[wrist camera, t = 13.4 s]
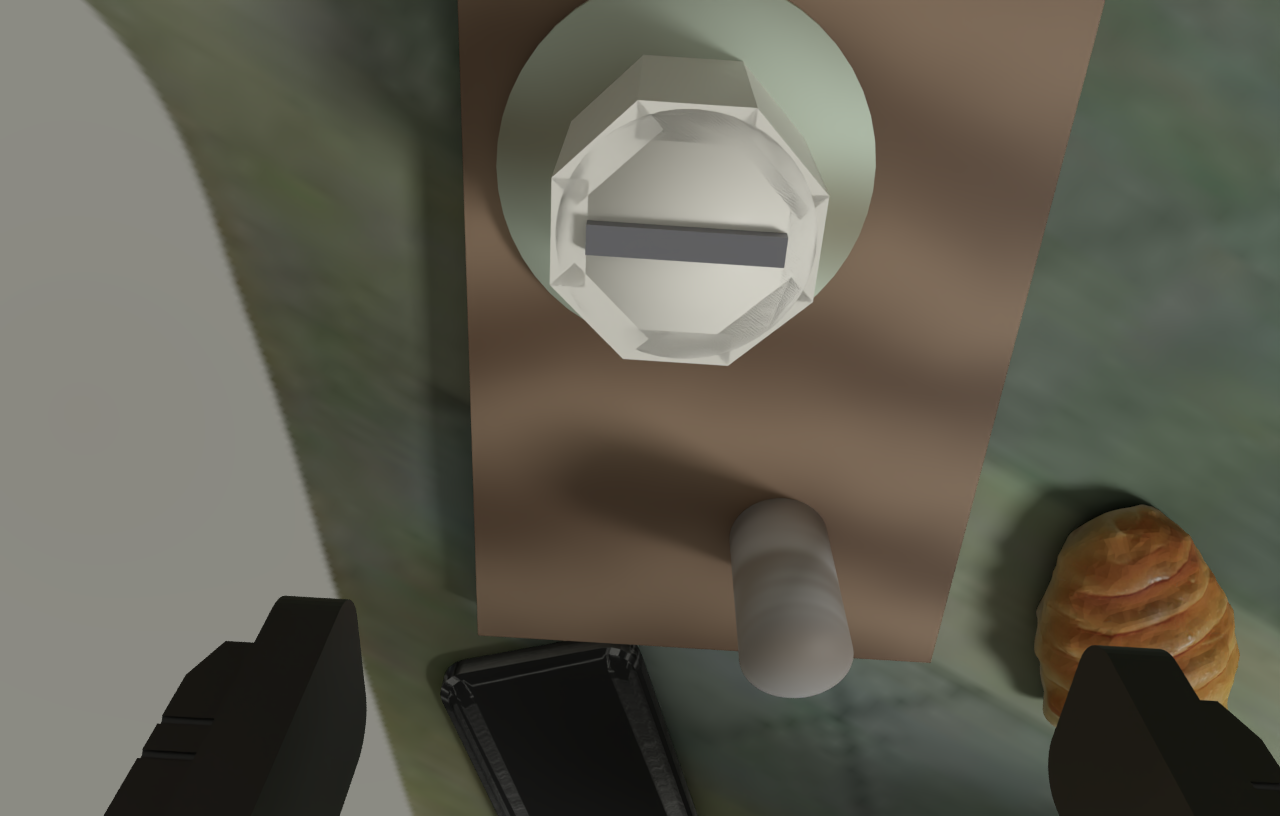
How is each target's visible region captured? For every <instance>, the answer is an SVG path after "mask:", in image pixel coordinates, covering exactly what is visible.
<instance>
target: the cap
mask: <svg viewBox="0 0 1280 816" xmlns="http://www.w3.org/2000/svg"><path fill="white" fill-rule="evenodd" d="M829 197H830V196H829V194H828V191H827V189H826V187H825V185H824V182H823V180H822V178H821V175H820V173H819V171H818V169H817V166H816V164H815V162H814V159H813V157H812V155H811V153H810V150H809V148H808V146H807V144H806V141H805V139H804V137H803V136H802V134H801V133H800V132H799V131H798V129H797V128H796V127H795V126H794V124H793V123H792V122H791V121H790V119H789V118H788V117H787V116H786V114H785V113H784V112H783V111H782V109H781V108H780V107H779V106H778V104H777V103H776V102H775V101H774V99H773V98H772V97H771V96H770V94H769V93H768V92H767V91H766V90H765V88H764V87H763V86H762V85H761V83H760V82H759V81H758V80H757V78H756V77H755V76H754V75H753V73H752V72H751V71H750V70H749V68H748V67H747V66H746V65H745V63H744V62H743V61H731V60H716V59H701V58H686V57H671V56H656V55H643V56H642V57H641V58H639V59H638V60H637V61H636V62H635V63H634V64H633V65H632V66H631V67H630V68H629V69H628V70H626V71H625V72H624V73H623V74H622V75H621V76H620V77H619V78H618V79H617V80H616V81H614V82H613V83H612V84H611V85H610V86H609V87H608V88H607V89H606V90H605V91H604V92H602V93H601V94H600V95H599V96H598V97H597V98H596V99H595V100H594V101H593V102H592V103H591V104H589V105H588V106H587V107H586V108H585V109H584V110H583V111H582V112H581V113H580V114H579V115H577V116H576V117H575V118H574V119H573V120H572V121H571V124H570V126H569V129H568V132H567V135H566V138H565V141H564V143H563V146H562V149H561V152H560V155H559V158H558V160H557V163H556V166H555V169H554V172H553V175H552V177H551V238H550V286H551V287H552V288H553V289H554V290H555V291H556V292H557V293H558V294H559V295H560V296H561V297H562V298H563V299H564V300H565V301H566V302H567V303H568V304H569V305H570V306H571V307H572V308H573V309H574V310H575V311H576V312H577V313H578V314H579V315H580V316H581V317H582V318H583V319H584V320H585V321H586V322H587V323H588V324H589V325H590V326H591V327H592V328H593V329H594V330H595V331H596V332H597V333H598V334H599V335H600V336H601V337H602V338H603V339H604V340H605V341H606V342H607V343H608V344H609V345H610V346H611V347H612V348H613V349H614V350H615V351H616V352H617V353H618V354H619V355H620V356H621V357H622V358H623V359H631V360H647V361H662V362H677V363H692V364H708V365H723V366H728V365H730V364H731V363H732V362H734V361H735V360H736V359H738V358H739V357H740V356H742V355H743V354H744V353H746V352H747V351H748V350H750V349H751V348H752V347H754V346H755V345H756V344H758V343H759V342H760V341H762V340H763V339H764V338H766V337H767V336H768V335H770V334H771V333H772V332H774V331H775V330H776V329H778V328H779V327H780V326H782V325H783V324H784V323H786V322H787V321H788V320H790V319H791V318H792V317H794V316H795V315H796V314H798V313H799V312H801V311H802V310H803V309H805V308H806V307H807V306H809V305H810V304H811V303H813V298H814V292H815V285H816V279H817V273H818V266H819V260H820V253H821V247H822V241H823V234H824V228H825V221H826V215H827V209H828V202H829Z"/></svg>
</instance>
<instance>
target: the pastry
mask: <svg viewBox="0 0 1280 816" xmlns="http://www.w3.org/2000/svg"><path fill="white" fill-rule="evenodd" d="M1052 576H1053V577H1052V579H1051V581H1050V583H1049V585H1048V588H1047V590H1046V592H1045V594H1044V596H1043V597H1042V599H1041V601H1040V603H1039V606H1038V608H1037V610H1036V615H1037V619H1038V626H1037V631H1036V636H1035V642H1034V651H1035V654H1036V656H1037V657H1038V659H1039V661H1040V676H1041V681H1042V685H1043V690H1044V698H1043V713H1044V716H1045V718H1046V719H1047V720H1048V721H1049V722H1050V723H1051V724H1052V725H1053V726H1055V727H1056V726H1057V723H1058V721H1059V718H1060V715H1061V712H1062V709H1063V706H1064V704H1065V701H1066V698H1067V695H1068V692H1069V689H1070V686H1071V684H1072V681H1073V678H1074V675H1075V672H1076V669H1077V667H1078V664H1079V661H1080V658H1081V656H1082V654H1083V653H1084V651H1085V650H1086V649H1087V648H1088V647H1090V646H1091V645H1103V646H1120V647H1137V648H1155V649H1163V650H1165V651H1167V652H1168V653H1170V654H1171V655H1172V656H1173V658H1174V659H1175V660H1176V662H1177V663H1178V665H1179V667H1180V668H1181V670H1182V671H1183V673H1184V675H1185V676H1186V678H1187V680H1188V681H1189V683H1190V684H1191V686H1192V688H1193V689H1194V691H1195V693H1196V694H1197V696H1198V697H1199V699H1200V700H1209V701H1218V702H1219V703H1220V704H1222V705H1223V706H1224V707H1225V708H1226V709H1227V710H1228V707H1227V700H1228V696H1229V693H1230V690H1231V687H1232V684H1233V682H1234V676H1235V672H1236V670H1237V668H1238V661H1239V656H1240V654H1239V649H1238V645H1237V641H1236V637H1235V633H1234V630H1235V624H1234V612H1233V609H1232V607H1231V605H1230V604H1229V603H1228V600H1227V597H1226V595H1225V593H1224V591H1223V590H1222V588H1221V587H1220V586H1219V584H1218V583H1217V581H1216V578H1215V576H1214V574H1213V573H1212V571H1211V570H1210V569H1209V567H1208V566H1207V564H1206V563H1205V561H1204V560H1203V558H1202V555H1201V553H1200V552H1199V550H1198V549H1197V548H1196V546H1195V545H1194V543H1193V540H1192V539H1191V537H1190V535H1189V534H1187V533H1186V532H1185V531H1184V530H1183V529H1182V528H1181V527H1180V526H1179V525H1177V524H1176V523H1174V522H1173V521H1172V520H1170V519H1169V518H1168V517H1166V516H1165V515H1164V514H1163V513H1162V512H1161V511H1159V510H1158V509H1156V508H1154V507H1152V506H1147V505H1143V504H1141V505H1138V506H1134V507H1129V508H1122V509H1118V510H1113V511H1110V512H1107V513H1104V514H1102V515H1100V516H1098V517H1096V518H1094V519H1092V520H1090V521H1089V522H1087V523H1085V524H1083V525H1082V526H1080V527H1079V528H1077V529H1076V530H1074V531H1073V532H1071V533H1070V535H1069V536H1068V537H1067V539H1066V542H1065V543H1064V545H1063V548H1062V549H1061V551H1060V553H1059V555H1058V558H1057V565H1056V567H1055V569H1054V570H1053V574H1052Z"/></svg>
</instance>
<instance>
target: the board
mask: <svg viewBox="0 0 1280 816" xmlns="http://www.w3.org/2000/svg"><path fill="white" fill-rule="evenodd" d="M1104 3H1105V0H458V27H459V58H460V90H461V121H462V152H463V183H464V215H465V246H466V277H467V309H468V340H469V371H470V402H471V434H472V465H473V496H474V527H475V559H476V590H477V621H478V635H481V636H497V637H514V638H530V639H547V640H563V641H580V642H596V643H613V644H629V645H646V646H662V647H679V648H695V649H712V650H728V651H738V652H739V662H740V667H741V670H742V672H743V674H744V675H745V677H746V678H747V680H748V681H749V682H750V683H751V684H753V685H754V686H755V687H756V688H758V689H760V690H761V691H763V692H766V693H768V694H771V695H774V696H778V697H784V698H803V697H809V696H813V695H817V694H819V693H822V692H824V691H826V690H828V689H830V688H832V687H833V686H835V685H836V684H837V683H839V682H840V681H841V680H842V679H843V678H844V677H845V675H846V674H847V672H848V671H849V669H850V667H851V665H852V661H853V658H860V659H877V660H893V661H910V662H926V663H931V659H932V655H933V651H934V647H935V644H936V640H937V636H938V632H939V629H940V625H941V621H942V617H943V613H944V610H945V606H946V602H947V598H948V594H949V591H950V587H951V583H952V579H953V575H954V572H955V568H956V564H957V560H958V556H959V553H960V549H961V545H962V541H963V538H964V534H965V530H966V526H967V522H968V519H969V515H970V511H971V507H972V503H973V500H974V496H975V492H976V488H977V484H978V481H979V477H980V473H981V469H982V465H983V462H984V458H985V454H986V450H987V447H988V443H989V439H990V435H991V431H992V428H993V424H994V420H995V416H996V412H997V409H998V405H999V401H1000V397H1001V393H1002V390H1003V386H1004V382H1005V378H1006V374H1007V371H1008V367H1009V363H1010V359H1011V356H1012V352H1013V348H1014V344H1015V340H1016V337H1017V333H1018V329H1019V325H1020V321H1021V318H1022V314H1023V310H1024V306H1025V302H1026V299H1027V295H1028V291H1029V287H1030V284H1031V280H1032V276H1033V272H1034V268H1035V265H1036V261H1037V257H1038V253H1039V249H1040V246H1041V242H1042V238H1043V234H1044V230H1045V227H1046V223H1047V219H1048V215H1049V211H1050V208H1051V204H1052V200H1053V196H1054V193H1055V189H1056V185H1057V181H1058V177H1059V174H1060V170H1061V166H1062V162H1063V158H1064V155H1065V151H1066V147H1067V143H1068V139H1069V136H1070V132H1071V128H1072V124H1073V120H1074V117H1075V113H1076V109H1077V105H1078V102H1079V98H1080V94H1081V90H1082V86H1083V83H1084V79H1085V75H1086V71H1087V67H1088V64H1089V60H1090V56H1091V52H1092V48H1093V45H1094V41H1095V37H1096V33H1097V29H1098V26H1099V22H1100V18H1101V14H1102V11H1103V7H1104ZM643 55H656V56H671V57H686V58H701V59H716V60H731V61H743V62H744V63H745V65H746V66H747V67H748V68H749V70H750V71H751V72H752V73H753V75H754V76H755V77H756V78H757V80H758V81H759V82H760V83H761V85H762V86H763V87H764V88H765V90H766V91H767V92H768V93H769V94H770V96H771V97H772V98H773V99H774V101H775V102H776V103H777V104H778V106H779V107H780V108H781V109H782V111H783V112H784V113H785V114H786V116H787V117H788V118H789V119H790V121H791V122H792V123H793V124H794V126H795V127H796V128H797V129H798V131H799V132H800V133H801V134H802V136H803V137H804V139H805V141H806V144H807V146H808V148H809V150H810V153H811V155H812V157H813V159H814V162H815V164H816V166H817V169H818V171H819V173H820V175H821V178H822V180H823V182H824V185H825V187H826V189H827V191H828V194H829V196H830V197H829V202H828V209H827V215H826V221H825V228H824V234H823V241H822V247H821V253H820V260H819V266H818V273H817V279H816V285H815V292H814V298H813V303H811V304H810V305H809V306H807V307H806V308H805V309H803V310H802V311H801V312H799V313H798V314H796V315H795V316H794V317H792V318H791V319H790V320H788V321H787V322H786V323H784V324H783V325H782V326H780V327H779V328H778V329H776V330H775V331H774V332H772V333H771V334H770V335H768V336H767V337H766V338H764V339H763V340H762V341H760V342H759V343H758V344H756V345H755V346H754V347H752V348H751V349H750V350H748V351H747V352H746V353H744V354H743V355H742V356H740V357H739V358H738V359H736V360H735V361H734V362H732V363H731V364H730V365H728V366H723V365H708V364H692V363H677V362H662V361H647V360H631V359H623V358H622V357H621V356H620V355H619V354H618V353H617V352H616V351H615V350H614V349H613V348H612V347H611V346H610V345H609V344H608V343H607V342H606V341H605V340H604V339H603V338H602V337H601V336H600V335H599V334H598V333H597V332H596V331H595V330H594V329H593V328H592V327H591V326H590V325H589V324H588V323H587V322H586V321H585V320H584V319H583V318H582V317H581V316H580V315H579V314H578V313H577V312H576V311H575V310H574V309H573V308H572V307H571V306H570V305H569V304H568V303H567V302H566V301H565V300H564V299H563V298H562V297H561V296H560V295H559V294H558V293H557V292H556V291H555V290H554V289H553V288H552V287H551V286H550V238H551V177H552V175H553V172H554V169H555V166H556V163H557V160H558V158H559V155H560V152H561V149H562V146H563V143H564V141H565V138H566V135H567V132H568V129H569V126H570V124H571V121H572V120H573V119H574V118H575V117H576V116H577V115H579V114H580V113H581V112H582V111H583V110H584V109H585V108H586V107H587V106H588V105H589V104H591V103H592V102H593V101H594V100H595V99H596V98H597V97H598V96H599V95H600V94H601V93H602V92H604V91H605V90H606V89H607V88H608V87H609V86H610V85H611V84H612V83H613V82H614V81H616V80H617V79H618V78H619V77H620V76H621V75H622V74H623V73H624V72H625V71H626V70H628V69H629V68H630V67H631V66H632V65H633V64H634V63H635V62H636V61H637V60H638V59H639V58H641V57H642V56H643Z"/></svg>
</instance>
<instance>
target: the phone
mask: <svg viewBox="0 0 1280 816" xmlns="http://www.w3.org/2000/svg"><path fill="white" fill-rule="evenodd" d="M440 695H441V699H442V702H443V704H444V706H445V708H446V710H447V712H448V714H449V716H450V718H451V720H452V722H453V724H454V726H455V728H456V731H457V733H458V735H459V737H460V739H461V741H462V743H463V745H464V747H465V749H466V751H467V753H468V755H469V757H470V759H471V761H472V763H473V765H474V767H475V769H476V771H477V773H478V776H479V778H480V780H481V782H482V784H483V786H484V788H485V790H486V792H487V794H488V796H489V798H490V800H491V802H492V804H493V806H494V808H495V810H496V812H497V814H498V816H698V815H697V813H696V810H695V807H694V804H693V801H692V798H691V795H690V792H689V790H688V787H687V784H686V781H685V778H684V775H683V772H682V769H681V767H680V764H679V761H678V758H677V755H676V752H675V749H674V747H673V744H672V741H671V738H670V735H669V732H668V729H667V726H666V724H665V721H664V718H663V715H662V712H661V709H660V706H659V703H658V701H657V698H656V695H655V692H654V689H653V686H652V683H651V680H650V678H649V675H648V672H647V669H646V666H645V663H644V660H643V657H642V655H641V652H640V650H639V648H638V647H637V645H629V644H613V643H596V642H580V641H563V642H557V643H552V644H547V645H541V646H536V647H530V648H525V649H519V650H514V651H508V652H503V653H497V654H492V655H486V656H481V657H475V658H470V659H465V660H461V661H458V662H456V663H454V664H453V665H451V666H450V667H449V668H448V670H447V671H446V673H445V676H444V680H443V683H442V687H441V693H440Z"/></svg>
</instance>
